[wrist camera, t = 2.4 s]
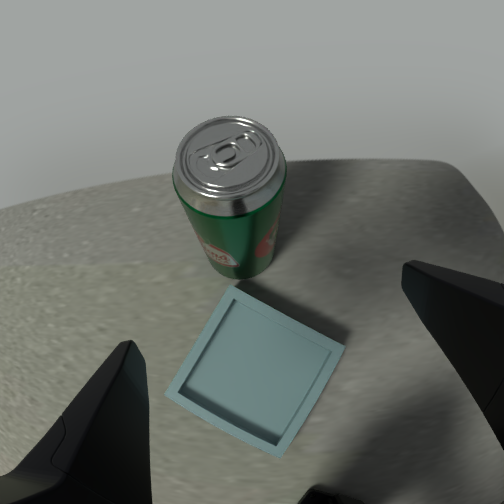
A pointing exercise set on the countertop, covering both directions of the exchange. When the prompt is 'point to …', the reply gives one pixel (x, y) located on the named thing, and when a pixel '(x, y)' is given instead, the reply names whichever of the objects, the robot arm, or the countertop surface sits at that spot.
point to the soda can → (232, 192)
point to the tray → (255, 372)
